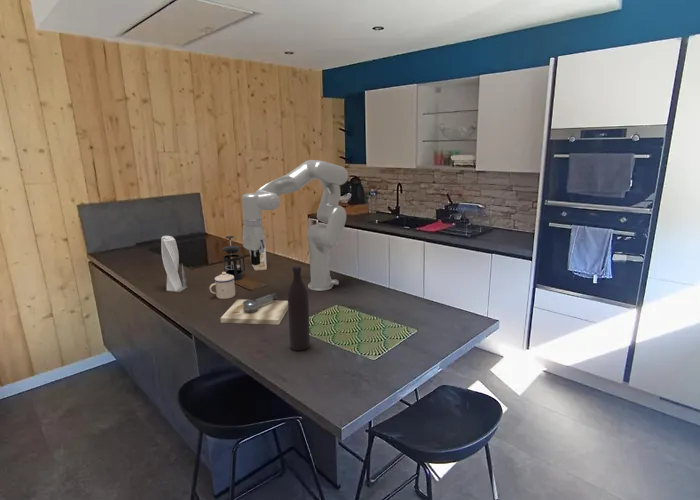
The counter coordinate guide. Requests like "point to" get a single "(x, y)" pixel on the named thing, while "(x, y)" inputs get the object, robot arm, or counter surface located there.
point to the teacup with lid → (224, 286)
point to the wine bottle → (298, 312)
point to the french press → (233, 268)
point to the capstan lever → (257, 302)
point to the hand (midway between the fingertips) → (255, 264)
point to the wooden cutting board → (256, 313)
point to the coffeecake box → (261, 261)
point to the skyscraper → (172, 264)
